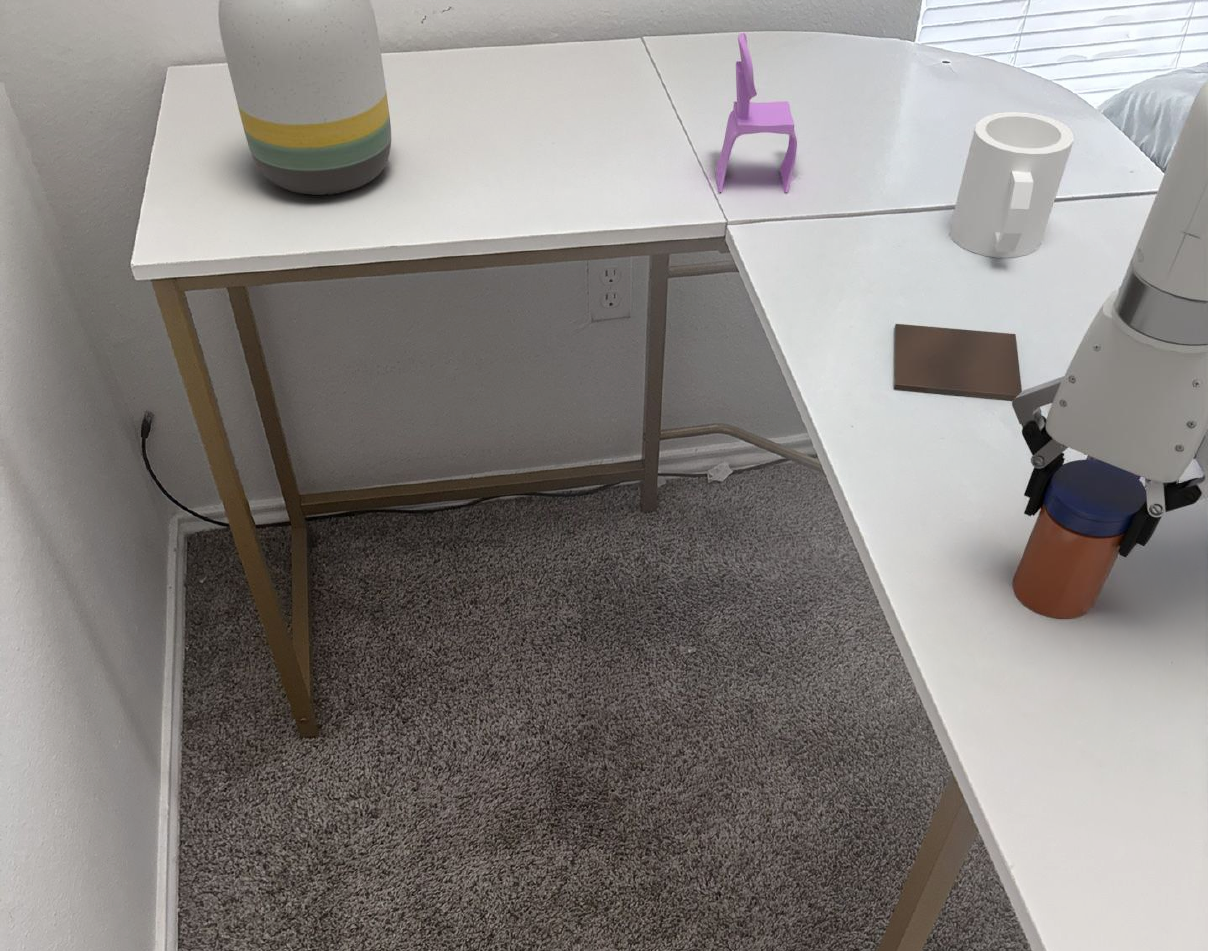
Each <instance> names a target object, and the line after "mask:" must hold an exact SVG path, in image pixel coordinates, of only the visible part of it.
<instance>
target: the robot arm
mask: <svg viewBox="0 0 1208 951" xmlns="http://www.w3.org/2000/svg"><path fill="white" fill-rule="evenodd" d="M1131 256H1132V257H1131V258H1130V261H1129V263H1128V267H1127V269H1126V272H1125V274H1124V277H1123V279H1122V282H1121V285H1120V286H1121V287H1120V286H1119V287H1120V289H1118V288H1117V289H1115V290H1113V291H1112V292H1111V293H1110V294H1108V297H1106V300H1105V301H1104V302H1103V303H1102V306H1101V307H1100V308H1099V310H1098V311H1097V313H1096V315H1095V316H1094V318H1093V320H1092V321H1091V323H1090V325H1089V327H1088V328H1087V330H1086V332H1085V334H1084V335H1083V338H1082V339H1081V341H1080V343H1079V345H1078V347H1077V349H1076V351H1075V353H1074V355H1073V357H1072V359H1071V361H1070V363H1069V366H1068V367H1067V369H1066V372H1065V374H1064V375H1063V376H1061V377H1057V378H1055V379H1052V380H1049V381H1046V382H1044V383H1040V384H1038V385H1035V386H1032V387H1029V388H1027V389H1023V390H1022V392H1021V393H1020V394H1019V395H1018V396H1017V397H1016V398H1015V399H1014V400H1011V405H1012V409H1013V411H1014V413H1015V416H1016V419H1017V421H1018V423H1019V425H1021V428H1022V429H1021V435H1022V437H1023V439H1024V441H1025V444H1026V445H1027V448H1028V449H1029V451H1030V453H1031V455H1032V456H1031V457H1030V463H1031V465H1032V467H1033V468H1032V471H1031V474H1030V478H1029V480H1028V483H1027V485H1026V488H1025V491H1024V493H1023V495H1024V497H1027V498H1029V499H1028V501H1027V504H1026V507H1025V510H1024V512H1023V514H1024V515H1026V516H1027V517H1032V516H1035V515H1036V514H1038V513H1039V512H1040V509H1041V507H1042V504H1043V502H1044V495H1045V492H1046V489H1047V487H1048V484H1049V482H1050V479H1051V477H1052V474H1053V473H1054V472H1055V471H1056V470H1057V468H1058V467H1060V466H1061V465H1063V464H1065V463H1064V462H1065V461H1066V458H1065V457H1064V456H1065V453H1064V452H1065V451H1066V450H1067V449H1071V450H1074V451H1077V452H1078V453H1081V454H1083V455H1085V456H1091V457H1093V458H1096V459H1098V460H1101V461H1103V462H1105V463H1108V464H1110V465H1113V466H1116V467H1118V468H1121V469H1123V470H1126V471H1128V472H1131V473H1133V474H1136V475H1138V476H1141V477H1140V478H1143V479H1144V487H1145V489H1146V499H1147V500H1146V502H1145V503H1144V504H1143V505H1142V507H1141V508H1140V509H1139V510H1138V512H1137V513H1136V515H1135V517H1134V519H1133V521H1132V523H1131V525H1130V527H1129V530H1128V532H1127V534H1126V536H1125V538H1124V540H1123V542H1122V544H1121V546H1120V548H1119V550H1118V553H1119V555H1118V556H1120V557H1122V558H1124V559H1125V558H1127V557H1128V556H1129V555H1130V553H1132V551H1133V549H1134V548H1135V547H1136V546H1137V545H1139V546H1141V547H1146V546H1147V544H1148V543H1149V542H1150V540H1151V538H1152V537H1153V534H1154V533H1155V531H1156V529H1157V527H1158V525H1159V523H1160V522H1161V519H1162V517H1163V515H1165V514H1166V513H1168V512H1171V511H1174V510H1178V509H1181V508H1185V507H1188V506H1191V505H1194V504H1197V502H1199V501H1200V500H1203V499H1208V79H1207V80H1206V81H1205V82H1204V83H1203V85H1202V86H1201V87H1200V88H1199V89H1198V91H1197V93H1196V95H1195V97H1194V99H1193V101H1192V104H1191V106H1190V107H1189V111H1188V113H1187V115H1186V117H1185V121H1184V123H1183V125H1182V129H1181V130H1180V134H1179V136H1178V138H1177V141H1176V143H1175V146H1174V149H1173V152H1172V154H1171V157H1170V159H1169V162H1168V165H1167V166H1166V169H1165V172H1164V175H1163V177H1162V179H1161V181H1160V185H1159V187H1158V190H1157V192H1156V195H1155V197H1154V200H1153V203H1152V205H1151V208H1150V210H1149V212H1148V216H1147V218H1146V221H1145V223H1144V226H1143V229H1142V231H1141V234H1140V236H1139V238H1138V240H1137V243H1136V246H1135V249H1134V252H1133V254H1132V255H1131ZM1050 404H1051V405H1050ZM1047 405H1050V408H1049V410H1048V413H1047V416H1044V415H1043V414H1042V412H1043V411H1042V409H1041V407H1044V406H1047ZM1193 460H1196V461H1197V463H1198V465H1199V467H1200V468H1201V470H1202V472H1203V474H1204V475H1202V476H1200V477H1194V478H1191V479H1188V480H1184V481H1180V478H1181V477H1182V475H1183V474H1184V472H1185V471H1186V469H1188V467H1189V466H1190V464H1191V462H1192V461H1193Z"/></svg>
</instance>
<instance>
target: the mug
mask: <svg viewBox="0 0 1208 951" xmlns="http://www.w3.org/2000/svg"><path fill="white" fill-rule="evenodd" d="M1074 136H1075V134H1074V133H1073V132H1072V130H1071V129H1070V127H1068V126H1067V125H1065V124H1063V123H1062V122H1061V121H1059V120H1057V119H1054V118H1051V117H1049V116H1045V115H1043V114H1042V115H1041V114H1037V113H1032V112H1022V111H1003V112H1002V111H1001V112H998V113H993V114H989V115H987V116H984V117H982V118H980V119H979V120H978V121H977V122H976V123H975V125H974V130H973V134H972V136H971V141H970V146H969V150H968V154H967V158H966V162H965V165H964V169H963V173H962V177H961V181H960V186H959V190H958V194H957V197H956V201H955V205H954V210H953V213H952V218H951V221H950V225H949V235H950V237H951V240H952V241H953V242H954V243H956V245H958V246H959V247H960V248H962V249H964V250H966V251H969V252H971V253H973V254H976V255H980V256H984V257H991V258H1000V259H1009V258H1019V257H1023V256H1027V255H1029V254H1031V253H1033V252H1035V251H1037V249H1039V247H1040V246H1041V244H1042V241H1043V238H1044V235H1045V233H1046V229H1047V226H1048V223H1049V219H1050V217H1051V213H1052V210H1053V207H1054V203H1055V201H1056V197H1057V195H1058V191H1059V189H1060V185H1061V183H1062V178H1063V175H1064V172H1065V170H1066V167H1067V163H1068V161H1069V157H1070V155H1071V150H1072V147H1073V145H1074V142H1075V141H1074Z"/></svg>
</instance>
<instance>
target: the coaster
mask: <svg viewBox="0 0 1208 951" xmlns="http://www.w3.org/2000/svg"><path fill="white" fill-rule="evenodd" d="M893 334H894V335H893V339H894V340H893V344H894V345H893V390H895V391H906V392H916V393H926V394H939V395H949V396H960V397H971V398H980V399H981V398H982V399H991V400H992V399H993V400H1002V401H1003V400H1005V401H1013V400H1014V399H1015V398H1016V397H1017V396H1018V395H1019V394H1020V393H1021V392H1022V391H1023V390H1022V380H1021V370H1020V361H1019V360H1020V359H1019V352H1018V344H1017V342H1018V341H1017V335H1016V333H1011V332H1009V333H1008V332H996V331H986V330H985V331H984V330H975V329H974V330H972V329H963V328H950V327H941V326H940V327H939V326H938V327H937V326H926V325H915V324H904V323H895V325H894V329H893Z"/></svg>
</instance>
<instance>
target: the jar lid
mask: <svg viewBox="0 0 1208 951" xmlns="http://www.w3.org/2000/svg"><path fill="white" fill-rule="evenodd" d="M1146 500H1147V499H1146V486H1145V484H1143V482H1142V481H1141V480H1139V479H1138V478H1137V477H1136V476H1135V475H1133V474H1132V473H1130V472H1128V471H1126V470H1123V469H1121V468H1118V467H1116V466H1113V465H1110V464H1108V463H1105V462H1103V461H1098V460H1086V459H1075V460H1072V461H1068V462H1065V463H1063V465H1061V466H1060V467H1058V468H1057V470H1056V471H1055V472H1054V473H1053V474H1052V477H1051V479H1050V482H1049V484H1048V487H1047V489H1046V492H1045V495H1044V504H1045V507H1046V509H1047V511H1048V512H1049V514H1050V515H1051V516H1052V517H1053V518H1054V519H1055V520H1056V521H1057V522H1059V523H1060V524H1062V525H1063V526H1065V527H1067V528H1069V529H1071V530H1073V531H1076V532H1079V533H1082V534H1087V535H1092V536H1113V535H1118V534H1121V533H1124V532H1126V531H1128V530H1129V527H1130V525H1131V523H1132V521H1133V519H1134V517H1135V515H1136V513H1137V512H1138V510H1139V509H1140V508H1141V507H1142V505H1143V504H1144V503H1145V502H1146Z"/></svg>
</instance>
